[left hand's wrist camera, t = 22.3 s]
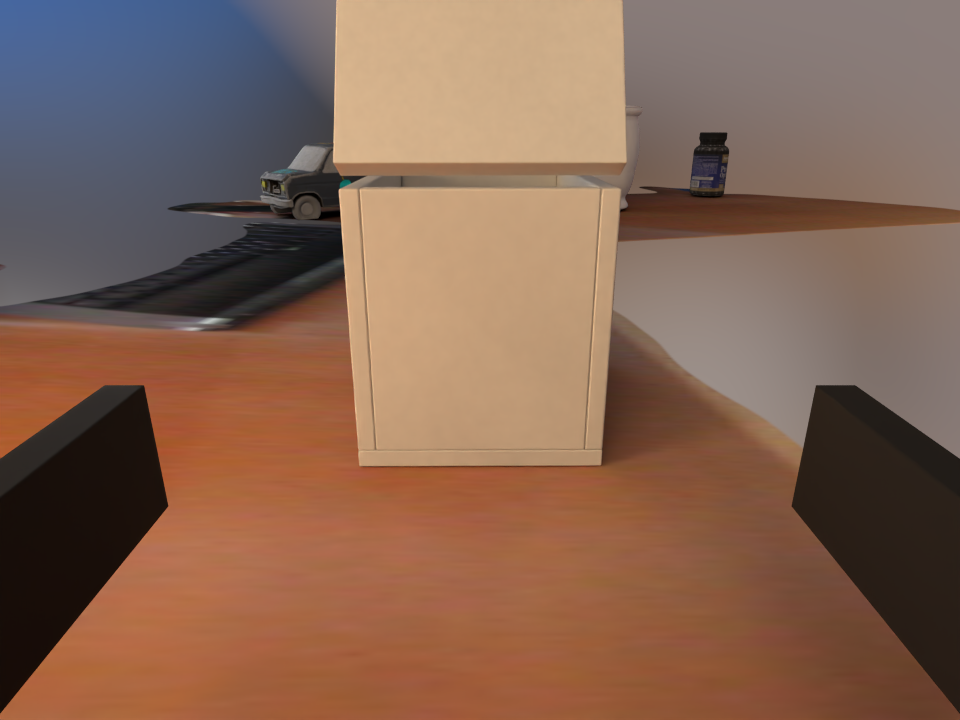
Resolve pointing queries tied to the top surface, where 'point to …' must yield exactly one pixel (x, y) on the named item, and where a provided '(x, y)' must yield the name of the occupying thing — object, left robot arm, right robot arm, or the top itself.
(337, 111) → the lid
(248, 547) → the top surface
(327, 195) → the toy van
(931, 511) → the left robot arm
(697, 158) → the pill bottle
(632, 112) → the jar
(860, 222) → the top surface
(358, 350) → the chest
